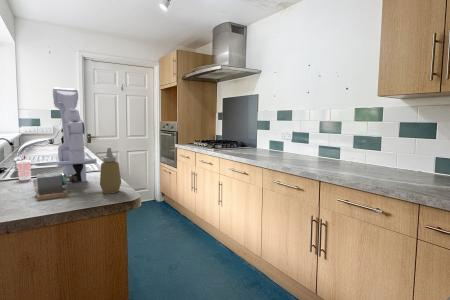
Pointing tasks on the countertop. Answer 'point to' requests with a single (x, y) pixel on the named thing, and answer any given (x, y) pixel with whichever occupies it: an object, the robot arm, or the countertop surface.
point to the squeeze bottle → (110, 174)
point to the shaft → (65, 180)
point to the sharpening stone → (50, 186)
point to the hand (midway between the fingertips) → (78, 181)
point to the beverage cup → (24, 169)
